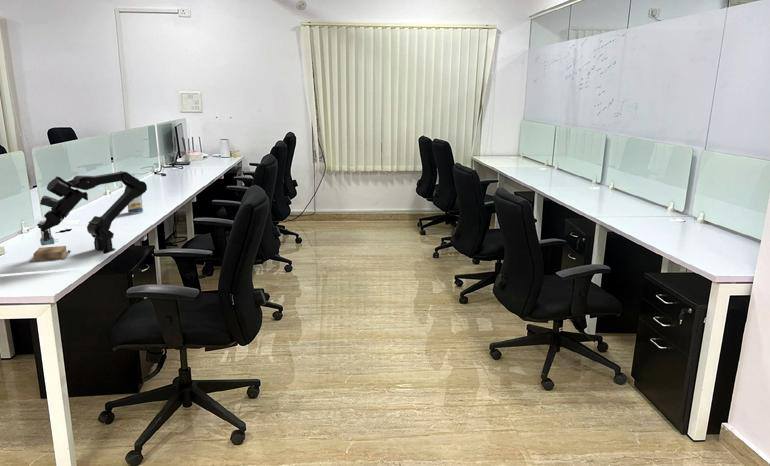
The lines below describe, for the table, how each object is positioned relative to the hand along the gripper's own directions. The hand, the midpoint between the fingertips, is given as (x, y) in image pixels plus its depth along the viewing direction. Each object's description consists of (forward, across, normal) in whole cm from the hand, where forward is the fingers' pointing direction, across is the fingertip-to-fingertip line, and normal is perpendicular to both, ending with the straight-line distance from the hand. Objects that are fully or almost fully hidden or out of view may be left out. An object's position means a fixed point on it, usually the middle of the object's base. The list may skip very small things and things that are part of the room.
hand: (43, 229), depth 229 cm
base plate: (+8, 0, +10) cm, 13 cm away
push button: (+4, 0, +6) cm, 7 cm away
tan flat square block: (+8, 0, +9) cm, 12 cm away
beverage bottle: (-9, -92, +28) cm, 96 cm away
